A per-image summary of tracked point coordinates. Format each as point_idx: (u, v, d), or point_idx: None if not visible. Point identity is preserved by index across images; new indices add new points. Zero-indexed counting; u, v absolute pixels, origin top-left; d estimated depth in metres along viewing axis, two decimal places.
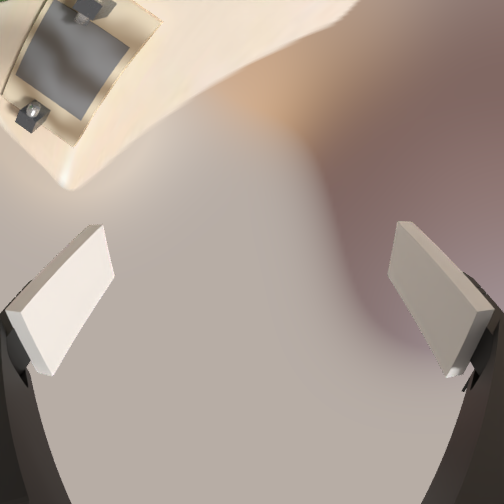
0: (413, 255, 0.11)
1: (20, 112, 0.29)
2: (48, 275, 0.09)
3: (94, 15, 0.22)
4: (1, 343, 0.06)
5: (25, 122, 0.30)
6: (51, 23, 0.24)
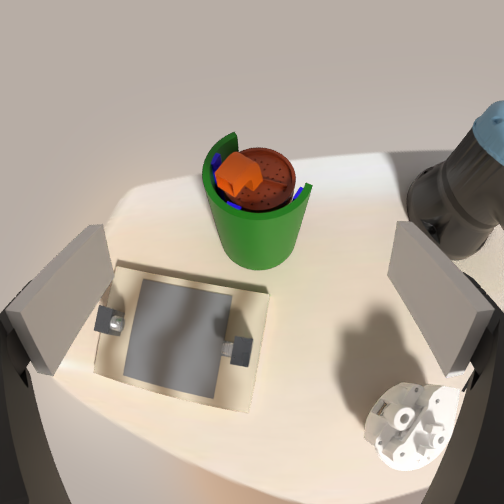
0: (412, 255, 0.11)
1: (110, 310, 0.35)
2: (48, 275, 0.09)
3: (235, 363, 0.33)
4: (1, 343, 0.06)
5: (102, 319, 0.35)
6: (207, 305, 0.39)
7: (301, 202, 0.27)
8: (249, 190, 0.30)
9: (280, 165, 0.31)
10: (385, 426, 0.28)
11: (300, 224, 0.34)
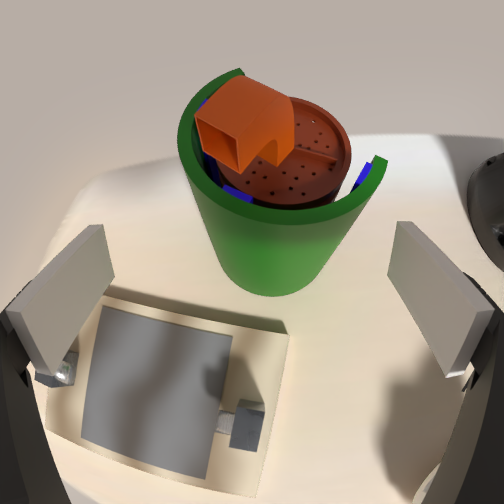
0: (412, 255, 0.11)
1: None
2: (48, 275, 0.09)
3: (237, 446, 0.19)
4: (1, 343, 0.06)
5: None
6: (194, 350, 0.25)
7: (372, 191, 0.13)
8: (266, 167, 0.16)
9: (320, 127, 0.17)
10: None
11: None
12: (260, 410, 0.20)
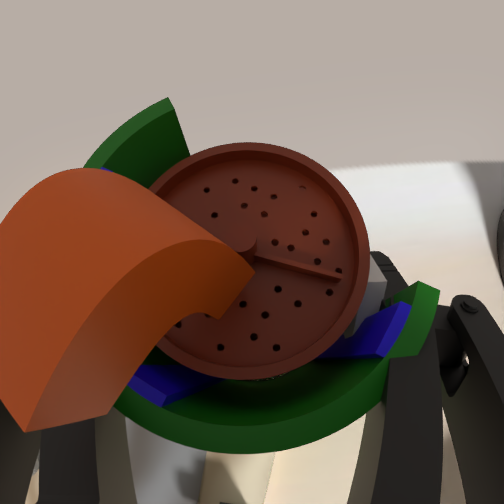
0: None
1: None
2: None
3: None
4: None
5: None
6: (164, 451, 0.18)
7: None
8: None
9: (314, 199, 0.10)
10: None
11: None
12: None
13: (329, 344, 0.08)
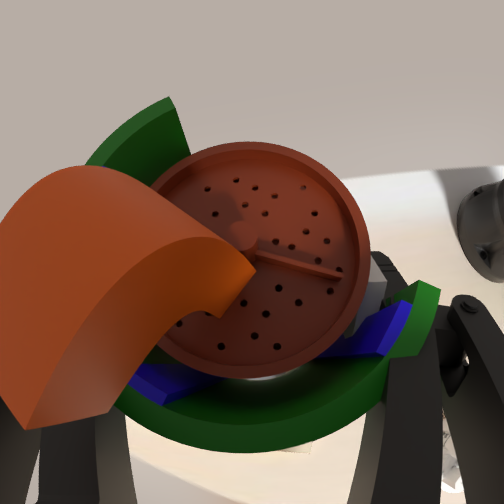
0: None
1: None
2: None
3: None
4: None
5: None
6: None
7: None
8: None
9: (314, 198, 0.10)
10: (447, 457, 0.24)
11: None
12: None
13: (330, 343, 0.08)
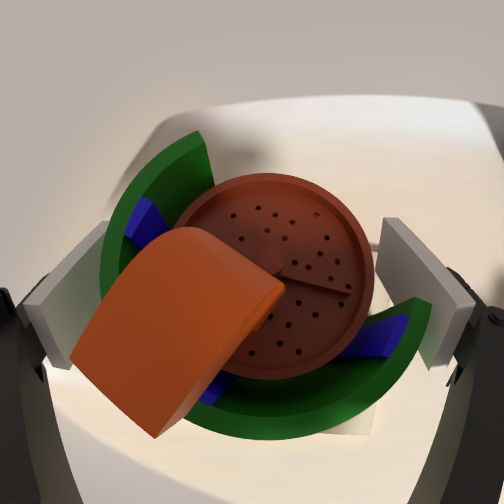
0: (397, 250, 0.12)
1: None
2: (65, 269, 0.10)
3: None
4: (18, 338, 0.07)
5: None
6: None
7: (404, 367, 0.08)
8: None
9: (326, 224, 0.11)
10: None
11: None
12: None
13: (343, 348, 0.09)
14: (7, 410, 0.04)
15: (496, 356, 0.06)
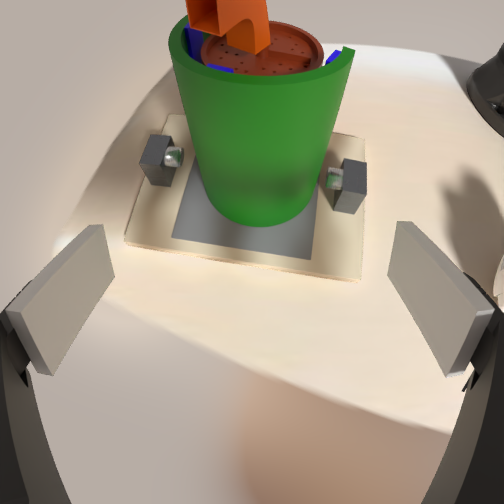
0: (413, 255, 0.11)
1: (167, 137, 0.26)
2: (48, 275, 0.09)
3: (350, 190, 0.24)
4: (1, 343, 0.06)
5: (153, 149, 0.26)
6: None
7: (341, 67, 0.13)
8: (247, 65, 0.15)
9: (295, 41, 0.17)
10: None
11: (329, 140, 0.20)
12: None
13: None
14: None
15: None
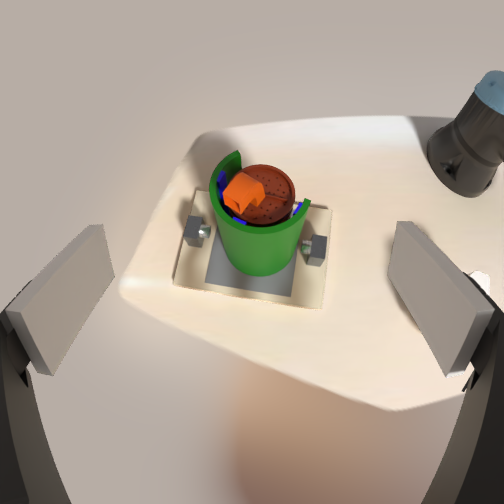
0: (413, 255, 0.11)
1: (200, 218, 0.43)
2: (48, 275, 0.09)
3: (314, 256, 0.41)
4: (1, 343, 0.06)
5: (191, 226, 0.43)
6: None
7: (301, 216, 0.30)
8: (252, 205, 0.32)
9: (280, 181, 0.33)
10: None
11: (299, 234, 0.37)
12: None
13: (284, 215, 0.31)
14: None
15: None
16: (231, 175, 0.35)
